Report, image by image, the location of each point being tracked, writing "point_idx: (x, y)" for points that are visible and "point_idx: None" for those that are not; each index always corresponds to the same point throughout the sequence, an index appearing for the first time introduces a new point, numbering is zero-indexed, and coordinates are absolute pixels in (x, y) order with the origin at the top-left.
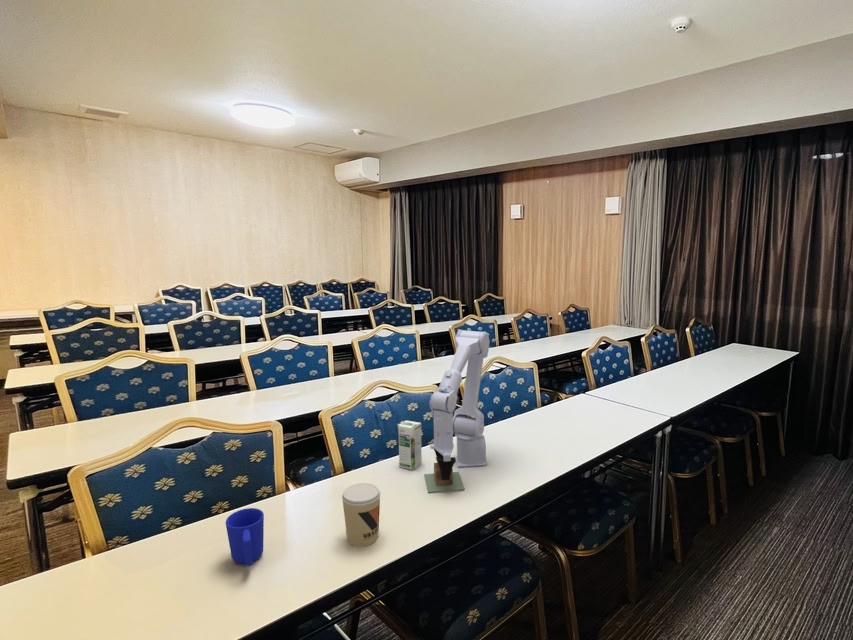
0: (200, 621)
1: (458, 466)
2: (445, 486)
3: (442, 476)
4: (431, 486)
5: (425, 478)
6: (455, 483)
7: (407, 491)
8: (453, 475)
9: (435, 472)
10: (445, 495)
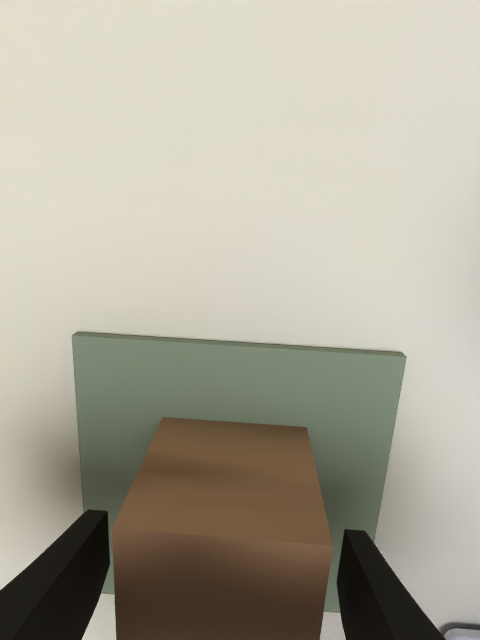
0: None
1: (450, 633)
2: None
3: (61, 541)
4: (161, 378)
5: (317, 354)
6: None
7: (129, 147)
8: None
9: (182, 491)
10: (35, 450)
